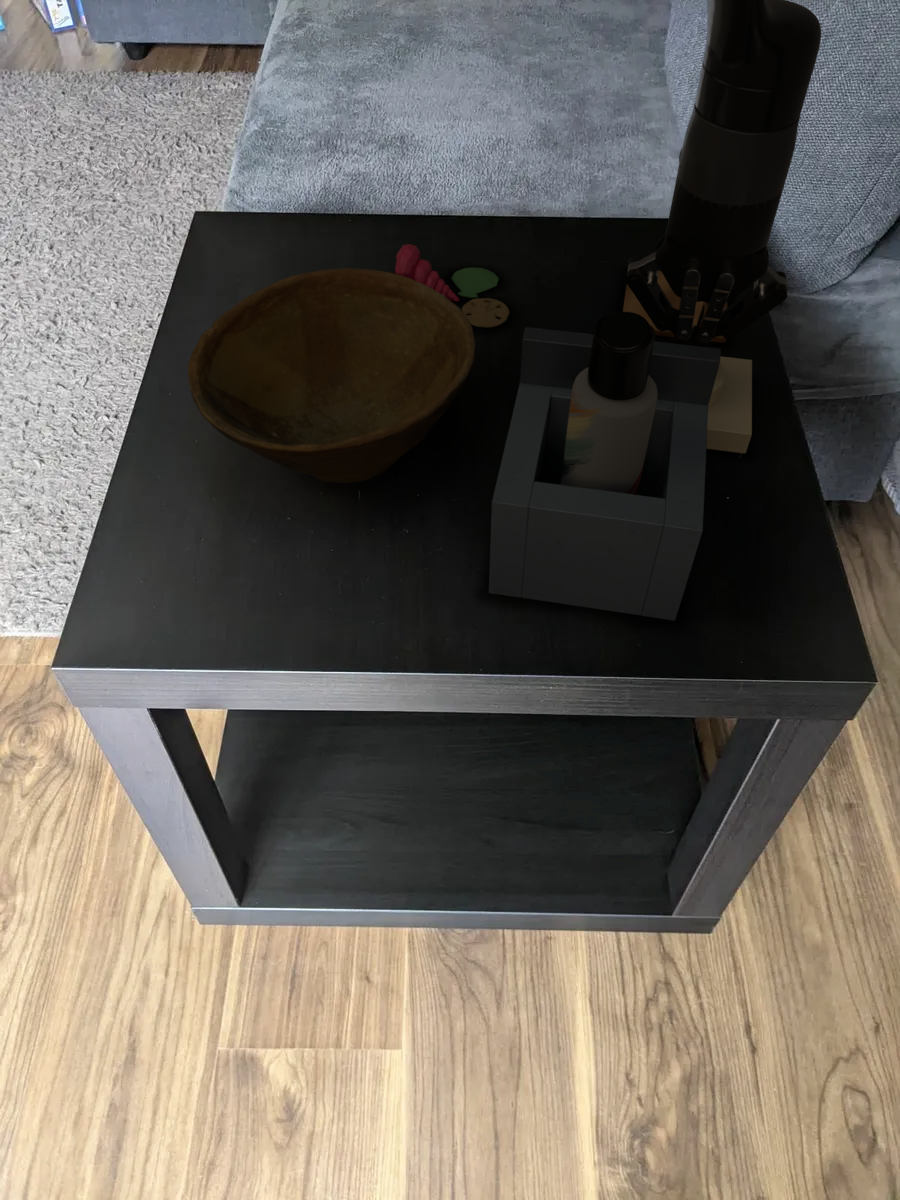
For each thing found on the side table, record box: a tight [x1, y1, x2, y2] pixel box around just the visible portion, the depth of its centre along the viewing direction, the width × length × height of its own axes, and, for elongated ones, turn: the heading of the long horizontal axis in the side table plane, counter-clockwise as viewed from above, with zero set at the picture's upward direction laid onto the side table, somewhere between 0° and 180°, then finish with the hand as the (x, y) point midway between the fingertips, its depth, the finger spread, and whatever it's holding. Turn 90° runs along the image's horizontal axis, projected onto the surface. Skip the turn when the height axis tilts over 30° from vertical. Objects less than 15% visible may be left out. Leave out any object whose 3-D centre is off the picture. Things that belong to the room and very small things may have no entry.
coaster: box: [622, 270, 728, 344], centre depth 92 cm, size 10×10×1 cm
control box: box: [706, 355, 753, 454], centre depth 82 cm, size 12×10×4 cm
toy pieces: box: [394, 243, 510, 329], centre depth 92 cm, size 12×11×4 cm
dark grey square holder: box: [488, 326, 722, 622], centre depth 68 cm, size 14×14×14 cm
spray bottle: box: [561, 311, 657, 495], centre depth 66 cm, size 6×6×20 cm
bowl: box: [187, 267, 477, 484], centre depth 77 cm, size 22×23×10 cm
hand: (684, 369), depth 80 cm, fingers closed
